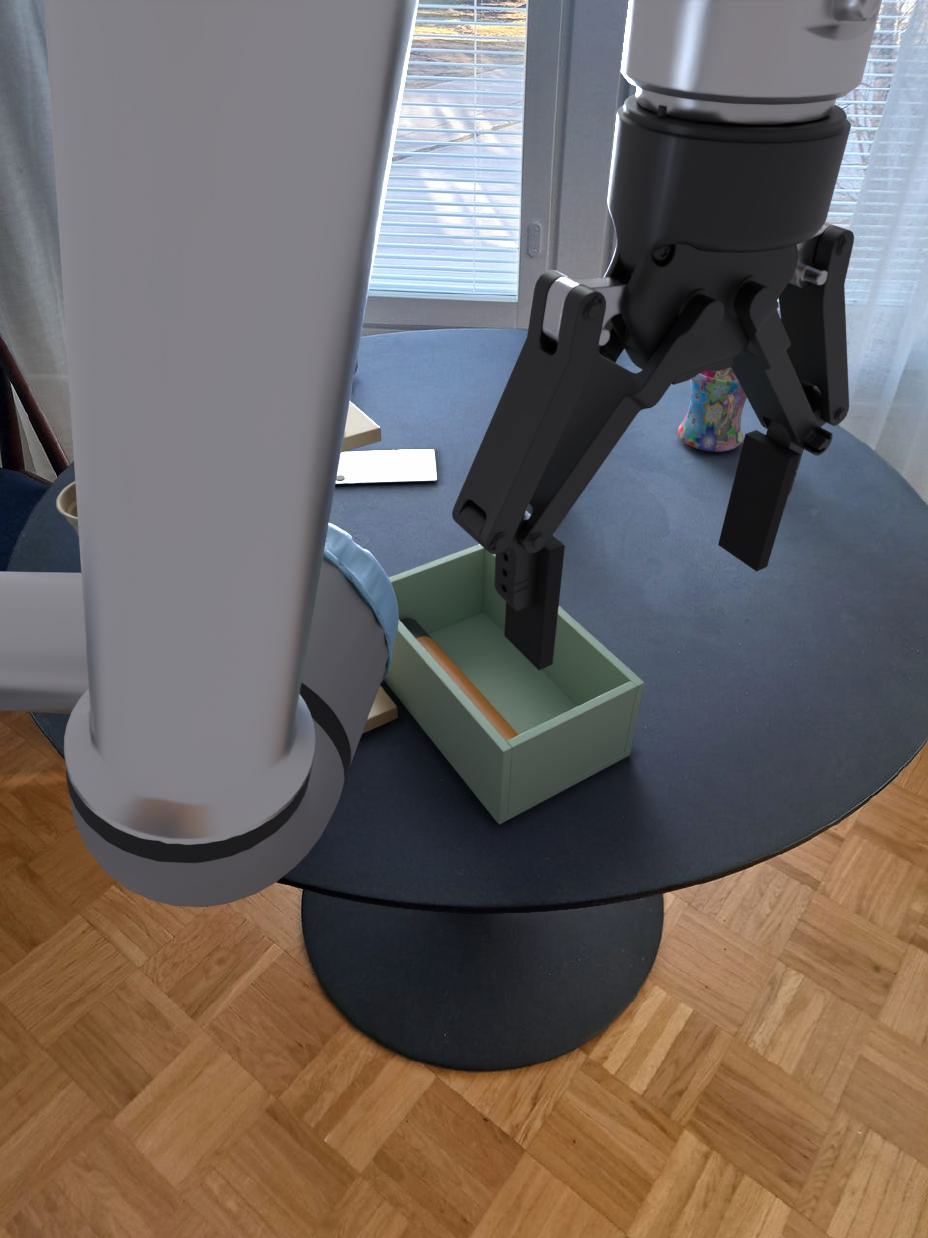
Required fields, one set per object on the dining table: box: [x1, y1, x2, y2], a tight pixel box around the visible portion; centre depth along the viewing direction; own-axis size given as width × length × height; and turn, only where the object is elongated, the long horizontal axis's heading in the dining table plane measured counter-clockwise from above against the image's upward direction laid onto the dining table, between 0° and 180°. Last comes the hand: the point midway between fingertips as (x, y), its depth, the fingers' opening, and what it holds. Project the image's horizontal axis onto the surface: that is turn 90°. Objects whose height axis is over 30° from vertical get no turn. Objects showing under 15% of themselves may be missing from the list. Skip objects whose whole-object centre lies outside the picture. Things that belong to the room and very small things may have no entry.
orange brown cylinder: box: [400, 618, 519, 742], centre depth 76 cm, size 4×19×4 cm
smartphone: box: [335, 448, 438, 486], centre depth 110 cm, size 8×1×16 cm
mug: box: [677, 367, 748, 453], centre depth 112 cm, size 12×9×11 cm
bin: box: [383, 543, 645, 825], centre depth 76 cm, size 14×23×9 cm, turn 32°
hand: (642, 600), depth 42 cm, fingers open, 13 cm apart
